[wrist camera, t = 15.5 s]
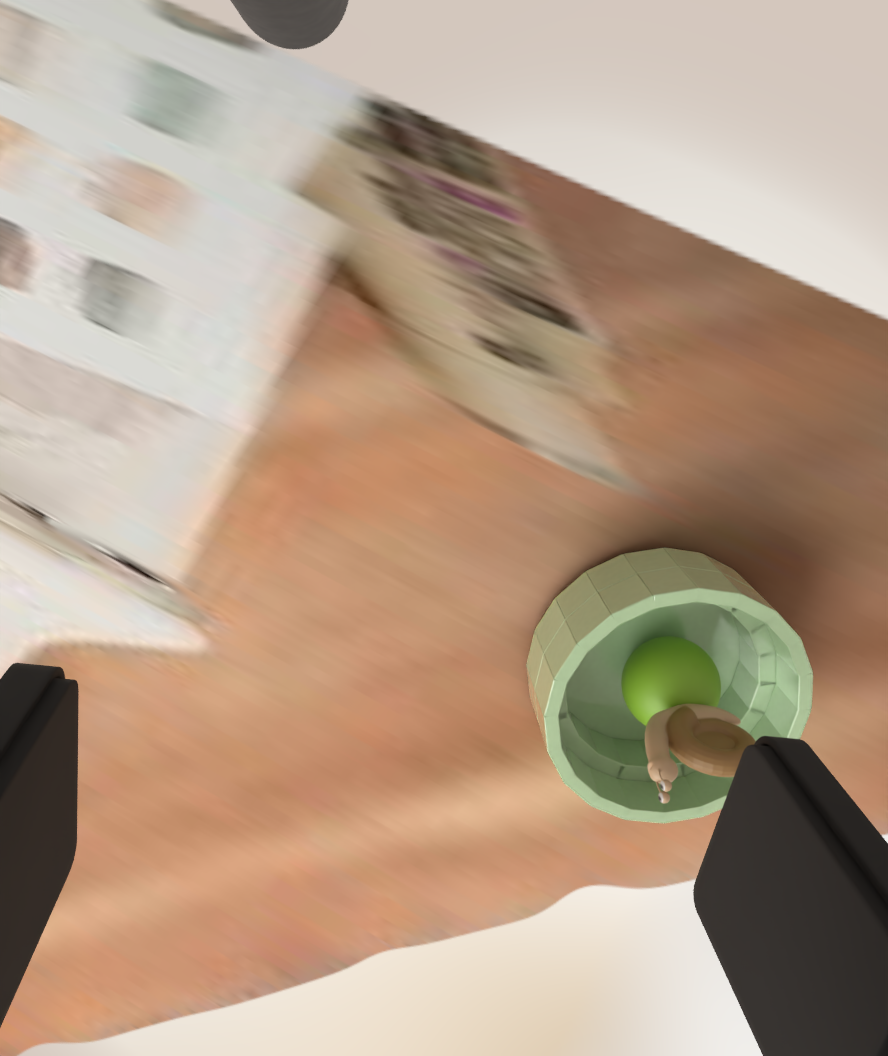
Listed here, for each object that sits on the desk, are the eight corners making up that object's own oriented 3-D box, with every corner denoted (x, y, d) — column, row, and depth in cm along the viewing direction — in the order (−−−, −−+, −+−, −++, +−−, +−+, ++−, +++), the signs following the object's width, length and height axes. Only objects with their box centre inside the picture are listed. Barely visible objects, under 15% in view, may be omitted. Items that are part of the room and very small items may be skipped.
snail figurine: (599, 619, 47) (669, 745, 36) (705, 619, 48) (807, 742, 36) (589, 700, 49) (653, 842, 38) (692, 698, 50) (784, 839, 38)
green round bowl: (556, 528, 45) (581, 571, 40) (795, 562, 47) (852, 608, 42) (503, 744, 50) (519, 810, 45) (722, 767, 52) (763, 833, 47)
